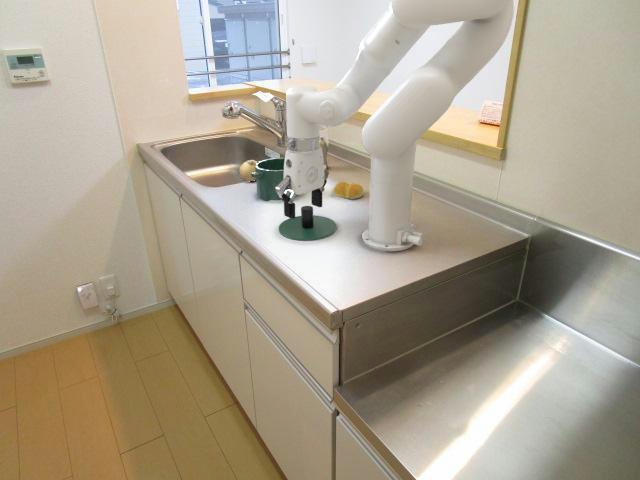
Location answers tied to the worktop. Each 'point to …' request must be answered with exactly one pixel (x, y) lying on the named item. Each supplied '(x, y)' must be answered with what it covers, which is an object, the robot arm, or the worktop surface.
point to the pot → (269, 178)
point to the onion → (247, 170)
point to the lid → (307, 226)
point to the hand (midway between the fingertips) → (303, 211)
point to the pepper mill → (324, 143)
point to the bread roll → (348, 190)
